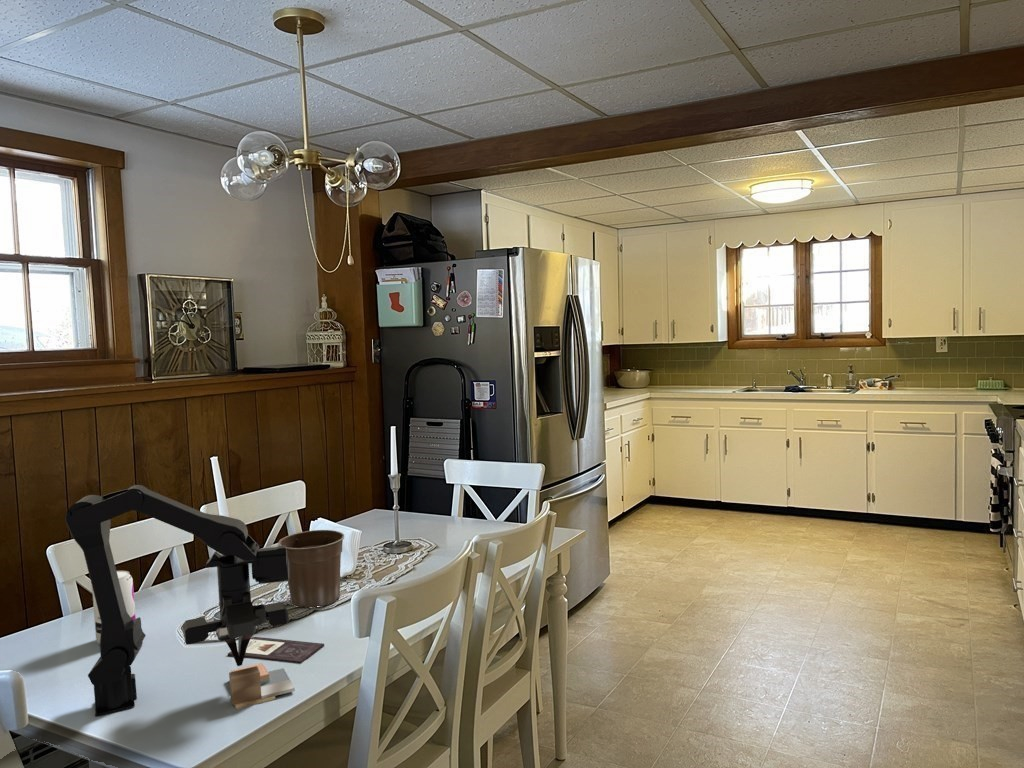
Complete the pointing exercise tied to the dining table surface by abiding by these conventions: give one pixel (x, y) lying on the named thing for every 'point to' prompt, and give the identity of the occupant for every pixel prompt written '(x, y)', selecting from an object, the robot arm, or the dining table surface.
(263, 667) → the tile
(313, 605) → the plant pot
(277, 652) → the chocolate bar
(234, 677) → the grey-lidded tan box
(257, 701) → the rest
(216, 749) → the dining table surface
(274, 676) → the plate
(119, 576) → the supplement can
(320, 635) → the dining table surface
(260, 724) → the dining table surface
